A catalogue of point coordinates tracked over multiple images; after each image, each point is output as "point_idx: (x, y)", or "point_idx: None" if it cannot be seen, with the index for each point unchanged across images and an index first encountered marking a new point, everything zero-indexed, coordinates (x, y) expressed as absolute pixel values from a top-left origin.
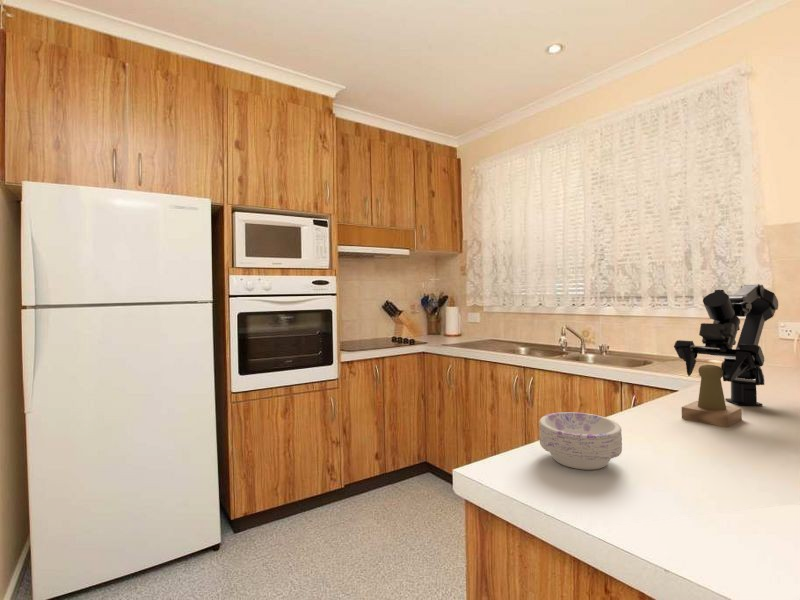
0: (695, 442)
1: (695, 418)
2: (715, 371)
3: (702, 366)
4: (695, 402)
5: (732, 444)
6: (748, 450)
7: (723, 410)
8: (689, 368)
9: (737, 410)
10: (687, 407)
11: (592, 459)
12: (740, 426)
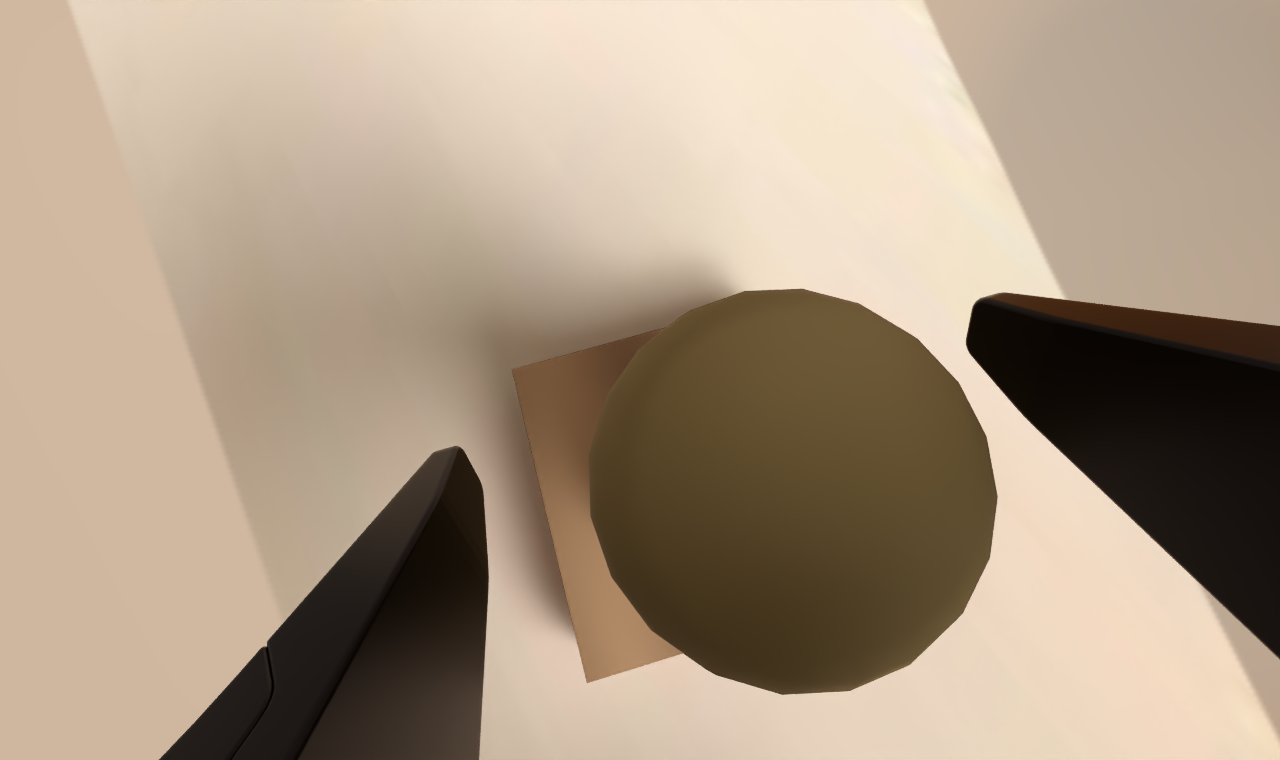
0: (458, 26)
1: None
2: (624, 375)
3: (876, 329)
4: None
5: (360, 137)
6: (282, 123)
7: None
8: (1066, 316)
9: (562, 579)
10: None
11: None
12: (509, 475)
